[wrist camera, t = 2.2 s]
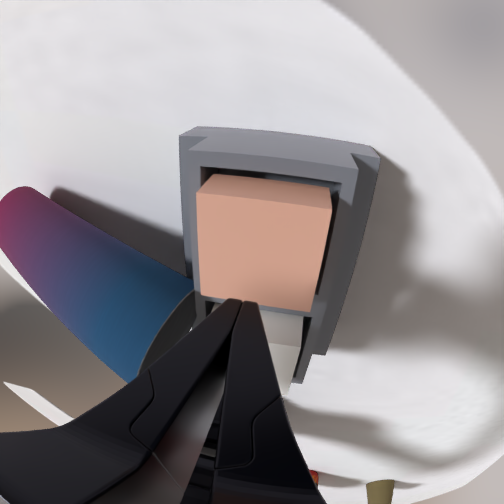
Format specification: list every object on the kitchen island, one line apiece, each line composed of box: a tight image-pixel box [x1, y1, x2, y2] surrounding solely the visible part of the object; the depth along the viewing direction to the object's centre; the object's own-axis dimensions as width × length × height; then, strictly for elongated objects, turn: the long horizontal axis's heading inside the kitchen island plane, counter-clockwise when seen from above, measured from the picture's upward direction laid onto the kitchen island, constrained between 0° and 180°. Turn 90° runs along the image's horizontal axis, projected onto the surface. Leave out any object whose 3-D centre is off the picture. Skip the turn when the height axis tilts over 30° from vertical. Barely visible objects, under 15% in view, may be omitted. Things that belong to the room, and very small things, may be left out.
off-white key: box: [211, 302, 303, 396], centre depth 15 cm, size 4×4×2 cm
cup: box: [0, 186, 197, 383], centre depth 16 cm, size 7×7×15 cm
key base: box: [179, 126, 381, 384], centre depth 16 cm, size 13×9×5 cm
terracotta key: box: [196, 174, 332, 312], centre depth 12 cm, size 4×4×2 cm
